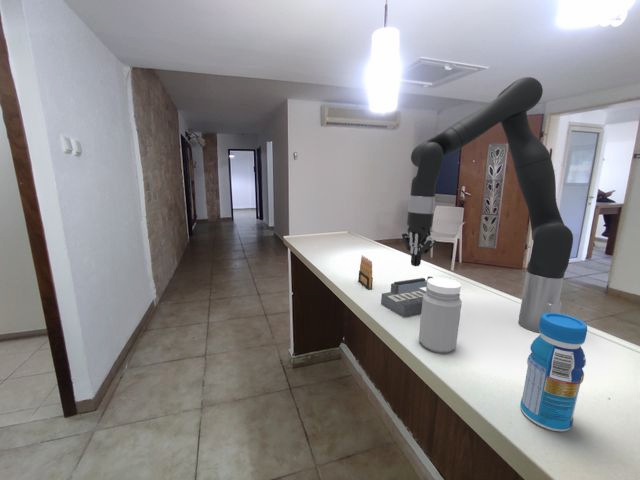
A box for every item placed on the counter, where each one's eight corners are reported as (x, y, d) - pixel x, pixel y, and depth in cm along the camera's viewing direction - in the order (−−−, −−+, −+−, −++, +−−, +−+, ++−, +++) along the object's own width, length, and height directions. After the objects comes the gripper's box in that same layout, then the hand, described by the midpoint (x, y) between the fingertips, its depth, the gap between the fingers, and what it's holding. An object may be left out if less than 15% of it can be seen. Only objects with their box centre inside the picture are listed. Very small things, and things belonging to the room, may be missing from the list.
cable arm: (428, 288, 111) (429, 278, 110) (395, 294, 104) (396, 283, 104) (423, 286, 113) (424, 276, 112) (390, 291, 106) (391, 281, 106)
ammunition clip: (372, 289, 126) (374, 261, 124) (367, 290, 126) (369, 261, 124) (362, 281, 136) (363, 254, 134) (358, 281, 136) (359, 254, 134)
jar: (438, 333, 91) (445, 275, 88) (464, 351, 82) (473, 286, 79) (410, 338, 88) (416, 277, 84) (434, 357, 79) (442, 290, 75)
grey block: (442, 309, 109) (445, 282, 107) (403, 317, 101) (406, 288, 99) (418, 297, 120) (420, 272, 118) (380, 304, 112) (382, 277, 110)
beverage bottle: (509, 407, 62) (525, 313, 58) (535, 396, 66) (552, 307, 62) (555, 440, 55) (577, 334, 51) (582, 425, 58) (605, 325, 54)
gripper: (446, 213, 91) (440, 270, 95) (415, 208, 103) (410, 259, 106) (427, 213, 88) (421, 272, 91) (397, 208, 100) (392, 261, 103)
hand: (415, 265), depth 99 cm, fingers closed
